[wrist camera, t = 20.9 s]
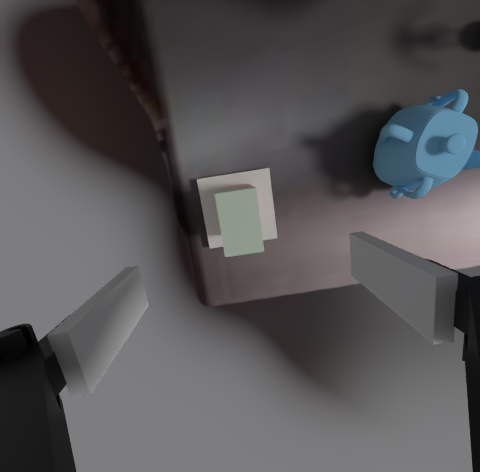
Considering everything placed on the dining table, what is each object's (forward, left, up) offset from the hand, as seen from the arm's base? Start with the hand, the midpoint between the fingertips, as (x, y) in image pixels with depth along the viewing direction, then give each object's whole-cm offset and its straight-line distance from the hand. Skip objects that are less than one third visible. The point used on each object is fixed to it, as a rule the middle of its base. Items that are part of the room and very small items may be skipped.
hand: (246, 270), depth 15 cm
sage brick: (0, 0, -22) cm, 22 cm away
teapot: (-5, +29, -29) cm, 41 cm away
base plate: (0, 0, -29) cm, 29 cm away
